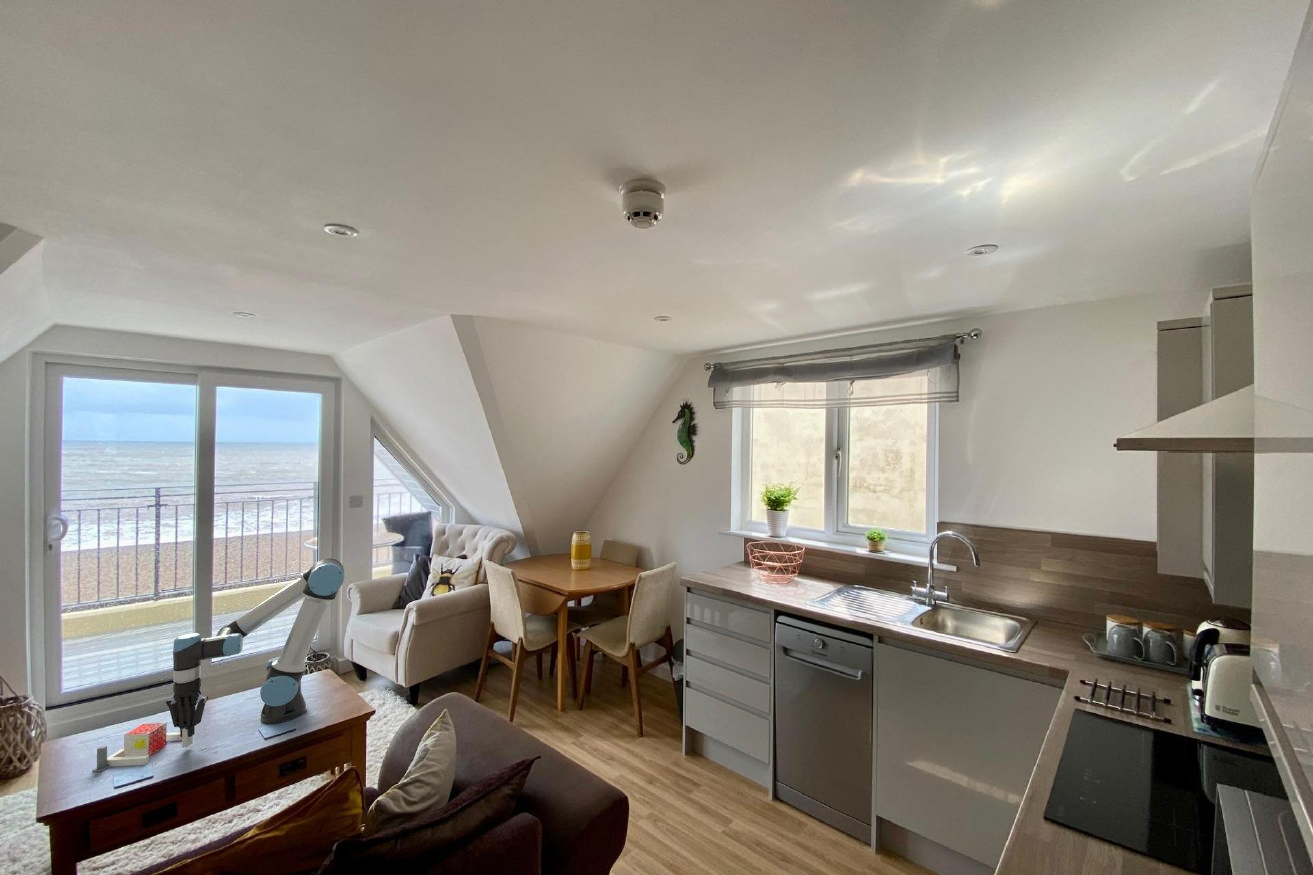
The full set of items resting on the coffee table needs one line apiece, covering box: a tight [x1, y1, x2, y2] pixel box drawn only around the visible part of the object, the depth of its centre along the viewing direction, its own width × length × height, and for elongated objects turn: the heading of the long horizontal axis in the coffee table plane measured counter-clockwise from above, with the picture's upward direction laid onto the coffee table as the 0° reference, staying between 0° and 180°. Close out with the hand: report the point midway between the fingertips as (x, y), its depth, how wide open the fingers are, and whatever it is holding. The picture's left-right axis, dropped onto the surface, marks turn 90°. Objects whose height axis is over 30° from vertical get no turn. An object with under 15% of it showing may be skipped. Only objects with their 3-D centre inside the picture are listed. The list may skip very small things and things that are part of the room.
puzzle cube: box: [123, 722, 168, 757], centre depth 194 cm, size 8×8×8 cm
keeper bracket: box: [91, 731, 182, 773], centre depth 192 cm, size 14×20×7 cm
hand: (187, 745), depth 195 cm, fingers closed
